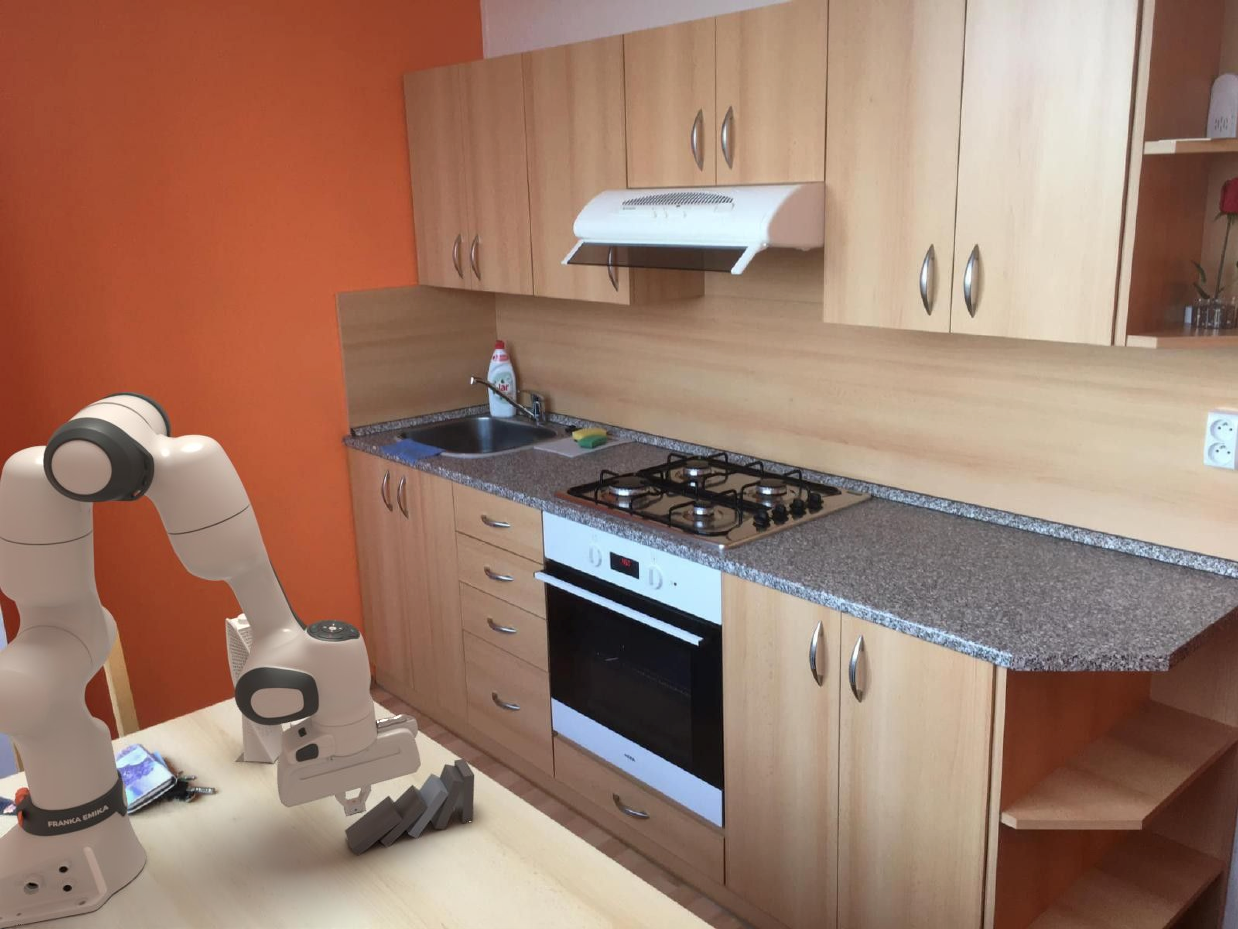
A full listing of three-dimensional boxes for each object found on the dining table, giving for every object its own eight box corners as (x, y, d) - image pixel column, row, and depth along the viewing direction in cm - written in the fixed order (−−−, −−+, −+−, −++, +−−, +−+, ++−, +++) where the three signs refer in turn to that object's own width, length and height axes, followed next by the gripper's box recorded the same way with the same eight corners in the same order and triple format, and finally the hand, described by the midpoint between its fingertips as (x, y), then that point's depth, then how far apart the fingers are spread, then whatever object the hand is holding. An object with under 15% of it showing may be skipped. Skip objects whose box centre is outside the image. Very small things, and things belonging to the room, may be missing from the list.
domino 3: (408, 834, 154) (440, 790, 155) (400, 816, 159) (431, 773, 159) (416, 838, 155) (448, 794, 156) (408, 820, 160) (439, 777, 160)
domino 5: (462, 823, 158) (464, 776, 156) (453, 806, 162) (454, 760, 161) (472, 821, 159) (474, 774, 157) (463, 804, 163) (464, 758, 161)
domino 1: (351, 849, 151) (396, 813, 153) (344, 830, 155) (388, 795, 157) (357, 856, 152) (402, 820, 153) (350, 837, 156) (394, 802, 158)
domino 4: (435, 828, 156) (454, 780, 156) (426, 810, 161) (444, 764, 160) (444, 829, 157) (463, 782, 156) (435, 812, 161) (454, 765, 161)
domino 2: (380, 841, 153) (421, 802, 154) (373, 823, 157) (412, 784, 158) (387, 847, 154) (427, 807, 155) (380, 828, 158) (419, 790, 159)
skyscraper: (300, 743, 182) (280, 597, 175) (279, 769, 175) (257, 617, 167) (255, 741, 184) (234, 595, 176) (232, 766, 176) (209, 615, 168)
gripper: (410, 701, 155) (418, 781, 159) (269, 736, 147) (281, 820, 151) (421, 720, 150) (429, 803, 154) (275, 758, 142) (288, 844, 146)
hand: (355, 812), depth 152 cm, fingers closed
